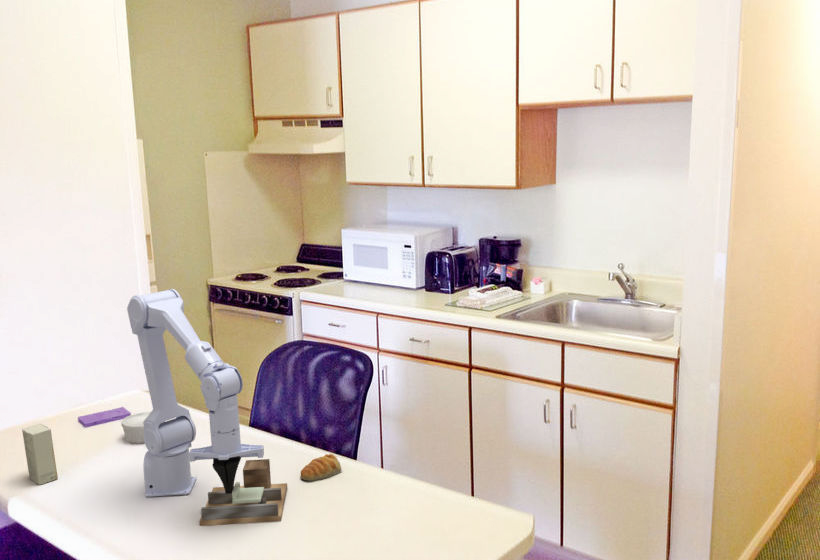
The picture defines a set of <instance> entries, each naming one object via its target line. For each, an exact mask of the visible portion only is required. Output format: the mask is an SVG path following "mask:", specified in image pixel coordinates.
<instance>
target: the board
mask: <svg viewBox="0 0 820 560" xmlns="http://www.w3.org/2000/svg"><path fill="white" fill-rule="evenodd" d="M240 488H244V485H240ZM287 492H288V483H286V482H285V483H271V487H270V488H269V489H264V492H263V495H262V499H261V502H253V503H236V504H232V500H233V499H232V494H226V493H225V489H224V486H217V487H215V486H214V487H213V488H212V490H211V491H208V492H207V502H206V504H205V506H204V507H203V506H202V507H200V511H201V512H200V513H201V515H200V518H199V520H198V523H199V526H201V527H202V526H203V527H205V526H219V525H222V526H223V525H233V524H235V525H236V524H238V525H239V524H250V523H251V524H253V523H254V524H255V523H268V522H269V523H270V522H281V521H282V517H283V511H284V506H285V502H286V501H285V500H286V497H287Z"/></svg>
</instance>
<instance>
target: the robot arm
mask: <svg viewBox="0 0 820 560" xmlns="http://www.w3.org/2000/svg"><path fill="white" fill-rule="evenodd" d="M126 309H127V310H126V311H127V315H128V319H129V323H130V324H129V325H130V329H131V332H132V334H133V335H136V336H137V341H138V346H139V349H140V354H141V355H140V356H141V360H142V364H143V368H144V373H145V377H146V382H147V387H148V391H149V395H150V397H149V398H150V402H151V406H152V410H151V411H150V412H151V413H150V414H149V415H148V416H147V418H146V419H145V420H144V422H143V424H144V442H145V443H144V445H145V448H146V450H147V451H146V452H145V454H144V458H143V476H144V488H145V494H144V497H147V498H149V497H166V496H181V495H182V496H184V495H189V494H190V493H191V492H192V489H193V487H194V486H195V483H196V481H197V477H196V476H192V474H191V462H193V463H194V462H196V461H199V460H201V461H203V460H205V461H206V460H212V468H213V470H214V471H215V472H216V474H217V475H218V477H219V479H220V481H221V483H222V487H224V489H225V493H226V494H232V491H233V488H234V486H235V480H236V474H237V470H238V467H239V464H240V463H241V459H242V458H258V459H263V458H264V456H265V449H264V448H265V447H264V444H250V443H249V444H246V443H241V430H240V415H239V414H240V412H239V402H238V400H239V399H238V395H239V394H240V393H241V392H242V391H243V386H244V382H243V377H242V374H241V373H240V372H239V369H238V368H237V367H236V366H233V365H230V364H229V363H227V362H225V361H223V359H222V358H221V357H220V356H219V354H218V353H217V351H216V350H215V349H214V348H213V345H212V344H211V343H209V342H208V341H207V340H206V341H205V340H201V339H200V337H199V336H198V334H197V333H196V331H195V329H194V328H193V326H192V324H191V323H190V321H189V319H188V318H187V317H186V315H185V304H184V300H183V298H182V296H181V295H180V293H179V292H178V291H177V290H176V289H174V288H169V289H167V290H162V291H156V292H150V293H147V294H145V293H144V294H141V295H138V294H137V295H132V297H131V298H130V300H129V303H128V304H127V307H126ZM166 330H167V331H168V333H170V334H171V336H172V337H173V338H174V339H175V341H177V342H178V344H179V345H180V346H181V347H182V348H183V349H184V350H185V355H184V360H185V361H186V363H187V364H188V366H189V367H190V369H191V370H192V371H193V373H194V374H195V375H196V376H197V378H198V380H199V381H200V382H201V384H200V385H199V387H200V391H201V394H202V396H203V400H204V403H205V407H206V409H207V410H208V416H209V417H208V418H209V419H208V420H209V429H210V430H209V431H210V442H211V445H210V446H204V447H198V448H192V443H193V442H194V440H196V435H197V428H196V424H195V423H194V422H195V421H194V420H193V418H192V417H191V413H190V410H189V409H188V408H186V407H184V406H182V405H180V404H178V400H177V395H176V392H175V386H174V382H173V377H172V372H171V368H170V363H169V359H168V354H167V349H166V343H165V340H164V334H165V332H166ZM164 421H165V422H164ZM162 422H163V423H162ZM190 448H191V449H190ZM189 449H190V450H189Z"/></svg>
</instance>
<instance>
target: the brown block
mask: <svg viewBox="0 0 820 560" xmlns="http://www.w3.org/2000/svg"><path fill="white" fill-rule="evenodd" d="M270 460H271V459H270V458H267V459H263V458H261V459H249V460H247V459H246V460H245V463H244V466H243V468H242V477H243V478H242V479H243V486H244V488H253V487H264V489H269V488H270V487H271V484H272V481H271V480H272V479H271V477H272V476H271V465H270V463H271V461H270Z"/></svg>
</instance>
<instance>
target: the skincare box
mask: <svg viewBox="0 0 820 560" xmlns="http://www.w3.org/2000/svg"><path fill="white" fill-rule="evenodd" d="M21 431H22V439H23V444H24V445H23V446H24V451H25V457H26V463H27V464H26V465H27V473H28V478H29V479H30V480H32V482H34V483H35V484H36V485H39V486H41V485H44V484H46V483H49V482H53V481H55V480H57V479H58V477H59V476H58V472H57V462H56V457H55V456H56V455H55V449H54V442H53V436H52V435H53V434H52V428H50V427H48V426H47V425H45V424H42V423H39V424H35V425H32V426H28V427H25V428H22V429H21Z"/></svg>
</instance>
